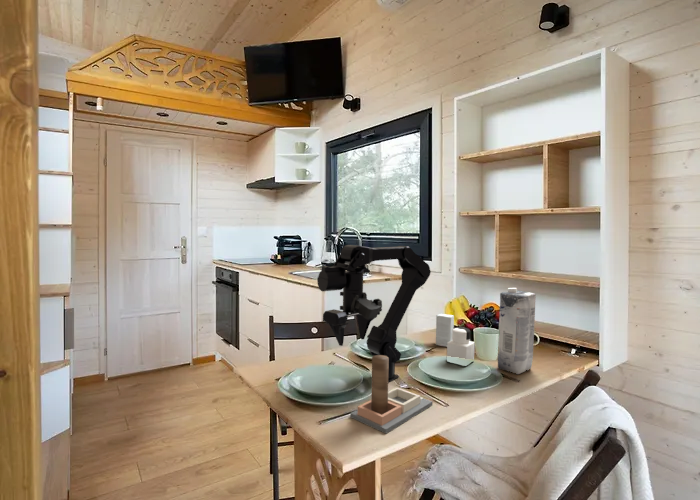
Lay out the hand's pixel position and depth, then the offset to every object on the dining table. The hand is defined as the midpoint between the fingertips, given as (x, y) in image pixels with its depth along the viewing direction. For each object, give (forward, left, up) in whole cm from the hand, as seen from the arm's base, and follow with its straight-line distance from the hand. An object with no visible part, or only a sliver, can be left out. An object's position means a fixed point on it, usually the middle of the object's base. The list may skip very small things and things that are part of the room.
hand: (352, 342), depth 115 cm
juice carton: (-49, +29, -13) cm, 58 cm away
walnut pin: (+9, +18, -12) cm, 24 cm away
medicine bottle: (-42, +13, -13) cm, 46 cm away
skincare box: (-56, -1, -13) cm, 58 cm away
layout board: (+4, +18, -13) cm, 23 cm away
